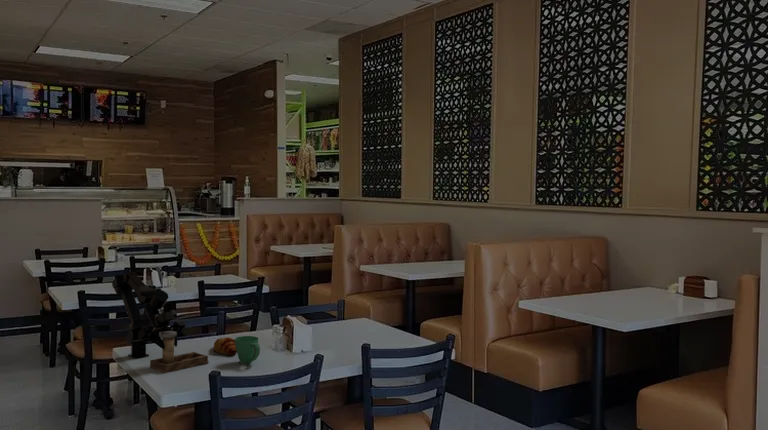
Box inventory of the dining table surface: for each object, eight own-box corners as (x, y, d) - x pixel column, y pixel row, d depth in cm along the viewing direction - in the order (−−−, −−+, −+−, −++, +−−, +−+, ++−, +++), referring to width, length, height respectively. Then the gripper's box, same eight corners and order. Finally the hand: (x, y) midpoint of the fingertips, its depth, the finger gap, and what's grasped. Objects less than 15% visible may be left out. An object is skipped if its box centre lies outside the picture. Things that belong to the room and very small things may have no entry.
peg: (160, 363, 267) (160, 331, 266) (176, 362, 269) (176, 330, 268) (159, 367, 261) (160, 334, 260) (176, 367, 263) (176, 334, 262)
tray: (165, 373, 258) (165, 365, 258) (150, 367, 265) (150, 360, 265) (208, 363, 273) (208, 356, 273) (193, 358, 280) (193, 351, 280)
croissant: (211, 354, 301) (203, 340, 299) (229, 342, 306) (222, 328, 304) (229, 364, 284) (221, 349, 281) (248, 351, 289) (240, 336, 287)
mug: (230, 361, 277) (230, 337, 277) (250, 357, 284) (251, 334, 283) (247, 369, 266) (247, 344, 266) (268, 365, 273) (268, 341, 272)
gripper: (142, 306, 259) (157, 339, 253) (183, 301, 273) (198, 332, 267) (131, 323, 265) (145, 355, 258) (172, 317, 279) (187, 347, 272)
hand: (170, 347), depth 264 cm, fingers closed on peg, 5 cm apart
